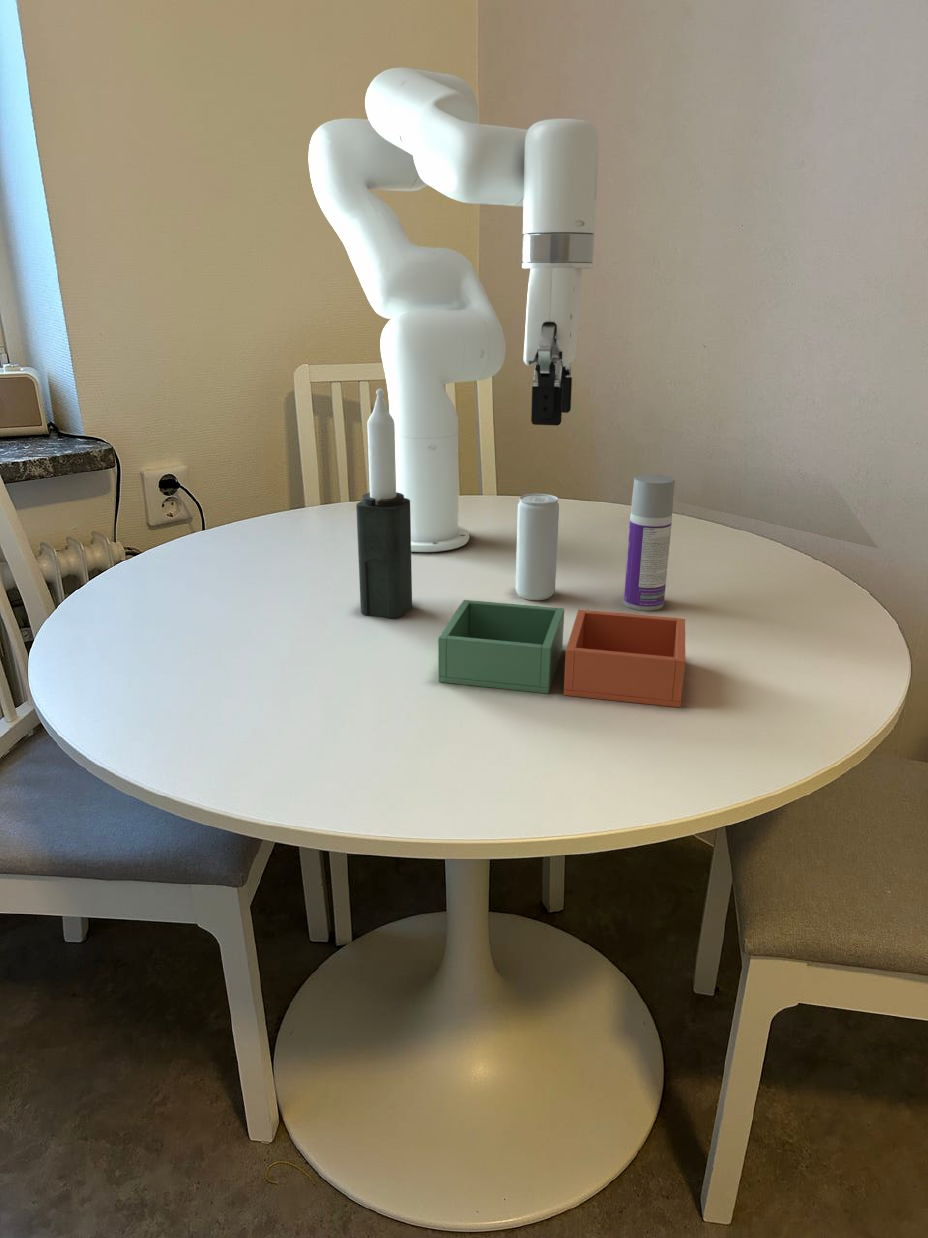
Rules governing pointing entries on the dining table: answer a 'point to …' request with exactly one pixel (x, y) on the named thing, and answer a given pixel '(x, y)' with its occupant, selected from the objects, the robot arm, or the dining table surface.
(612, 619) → the terracotta bin
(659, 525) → the container
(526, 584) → the beverage can
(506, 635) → the sage bin
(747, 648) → the dining table surface
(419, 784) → the dining table surface
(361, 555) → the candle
